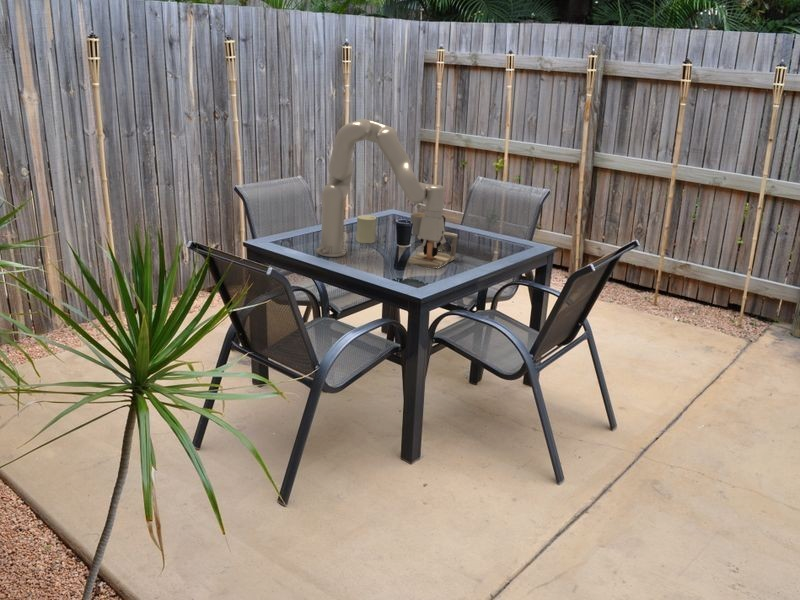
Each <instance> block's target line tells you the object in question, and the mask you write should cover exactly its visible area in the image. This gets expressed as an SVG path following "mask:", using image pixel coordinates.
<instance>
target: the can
mask: <svg viewBox="0 0 800 600" xmlns="http://www.w3.org/2000/svg"><path fill="white" fill-rule="evenodd" d="M356 218H357V219H356V221H357V222H356V237H355V241H356V242H357V243H360V244H366V243H369V244H374V243H376V230H377V229H376V228H377V217H376V216H374V215H370V214H369V215H368V214H365V215H364V214H362V215H360V214H359V215H358V216H357V217H356Z"/></svg>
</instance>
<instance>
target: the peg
mask: <svg viewBox="0 0 800 600" xmlns="http://www.w3.org/2000/svg"><path fill="white" fill-rule="evenodd" d="M433 248H434V242H433V241H428V242H427V253H426V260H430V261H433V260H434V257H433V256H432V251H433Z"/></svg>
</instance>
